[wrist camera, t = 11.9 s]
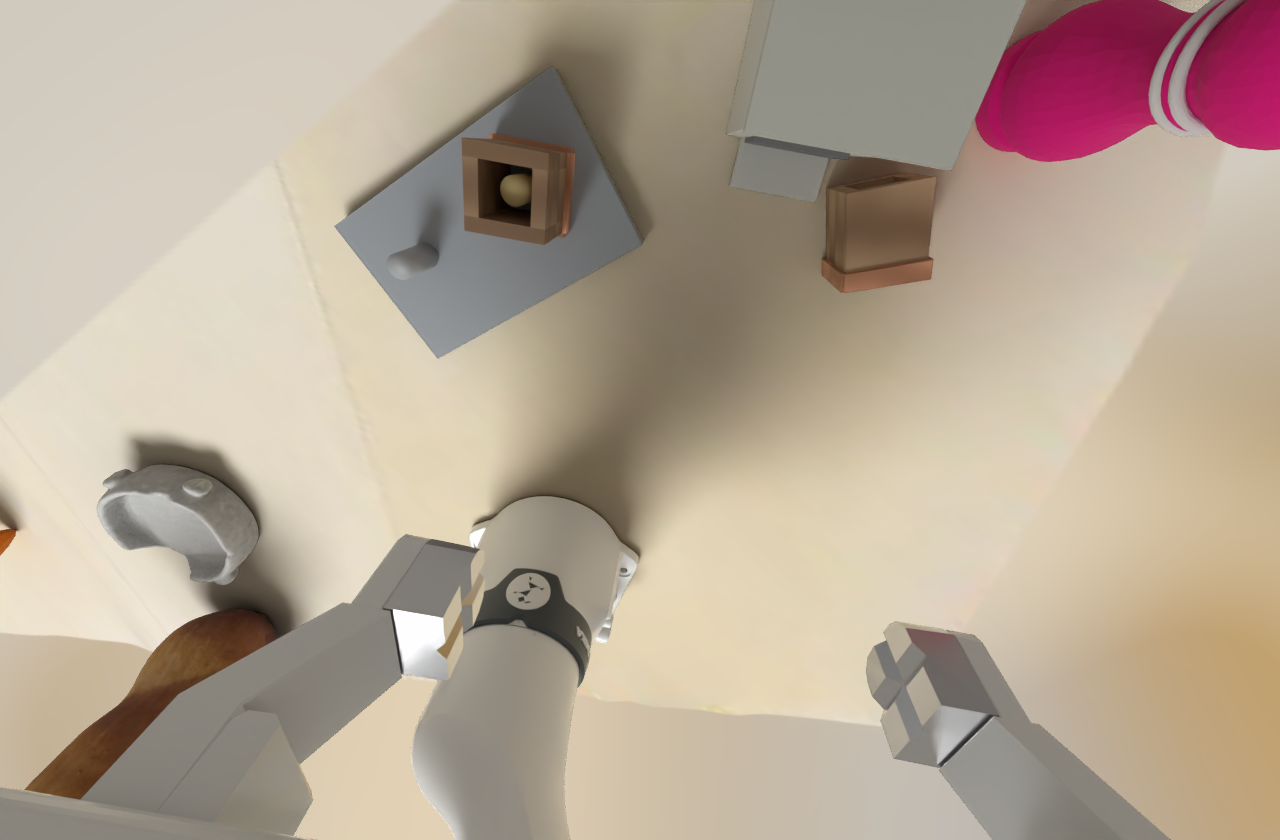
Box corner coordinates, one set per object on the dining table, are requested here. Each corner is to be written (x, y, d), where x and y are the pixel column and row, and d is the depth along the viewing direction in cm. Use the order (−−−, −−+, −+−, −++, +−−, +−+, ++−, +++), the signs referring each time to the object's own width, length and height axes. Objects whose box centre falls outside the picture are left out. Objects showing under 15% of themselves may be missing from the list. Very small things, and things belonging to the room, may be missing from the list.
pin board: (643, 241, 36) (637, 255, 31) (445, 352, 42) (414, 378, 37) (556, 69, 31) (533, 55, 26) (346, 223, 37) (296, 234, 32)
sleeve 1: (569, 235, 34) (548, 251, 29) (493, 221, 34) (459, 234, 29) (575, 148, 32) (554, 148, 26) (493, 133, 31) (456, 130, 26)
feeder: (830, 204, 33) (921, 239, 20) (711, 182, 33) (727, 204, 20) (899, -4, 28) (1085, -135, 15) (756, -31, 27) (817, -186, 15)
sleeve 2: (900, 261, 35) (933, 278, 30) (821, 275, 36) (842, 293, 31) (907, 171, 32) (944, 175, 27) (821, 188, 33) (843, 195, 28)
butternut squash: (186, 590, 62) (-79, 824, 41) (275, 587, 60) (47, 831, 39) (242, 654, 69) (41, 885, 47) (324, 654, 67) (154, 893, 46)
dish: (270, 564, 58) (237, 597, 54) (155, 532, 57) (112, 563, 53) (259, 476, 51) (219, 507, 47) (126, 438, 50) (74, 466, 46)
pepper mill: (967, 45, 28) (1406, -116, 11) (1106, -1, 27) (1861, -270, 10) (962, 174, 32) (1295, 205, 14) (1086, 139, 30) (1620, 128, 13)
